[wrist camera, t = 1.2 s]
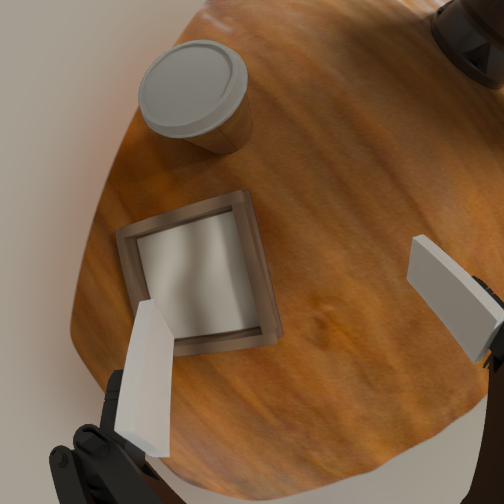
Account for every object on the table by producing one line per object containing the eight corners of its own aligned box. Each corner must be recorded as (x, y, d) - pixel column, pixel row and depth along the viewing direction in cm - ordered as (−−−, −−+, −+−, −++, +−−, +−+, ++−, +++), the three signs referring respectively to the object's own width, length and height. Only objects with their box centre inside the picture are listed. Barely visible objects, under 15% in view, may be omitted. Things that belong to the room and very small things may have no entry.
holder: (249, 191, 30) (242, 185, 27) (283, 334, 30) (280, 345, 27) (128, 228, 33) (112, 228, 30) (159, 350, 33) (146, 360, 30)
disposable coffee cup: (188, 101, 31) (140, 52, 19) (264, 90, 29) (242, 26, 17) (186, 172, 31) (128, 143, 19) (268, 164, 29) (246, 121, 18)
